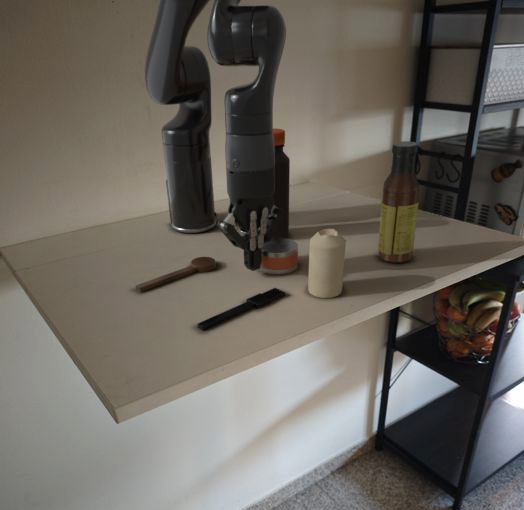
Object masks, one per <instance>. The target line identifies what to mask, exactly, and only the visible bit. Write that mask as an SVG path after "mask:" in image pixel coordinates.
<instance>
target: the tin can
mask: <svg viewBox="0 0 524 510" xmlns="http://www.w3.org/2000/svg"><path fill="white" fill-rule="evenodd" d="M298 260H299V244H298V242H296V241H295V240H293V239H290V238H287V237H286V238H272V239H271V241H270V242H266V243H264V245H263V247H262V263H261V265H260V269H258V270H259V271H260V272H262V273H265V274H268V275H276V276H277V275H287V274H290V273H292V272H295V271H296V270H297V269H298V263H299V262H298Z"/></svg>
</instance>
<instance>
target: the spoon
mask: <svg viewBox="0 0 524 510" xmlns="http://www.w3.org/2000/svg"><path fill="white" fill-rule="evenodd" d="M216 268H217V264H216V259H215V258H213V257H210V256H198V257H196V258H193V259H192V260H191V261H190V265H189V266H186V267H184V268H183V267H182V268H181V269H178V270H175V271H172V272H169V273H166V274H164V275H161V276H158V277H155V278H152V279H150V280H146V281H145V282H141V283H138V284H136V285H135V290H136V291H137V292H140V293H144V292H145V291H148V290H151V289H154V288H157V287H160V286H162V285H165V284H167V283H170V282H172V281H175V280H178V279H181V278H184V277H186V276H189V275H191V274H194V273H197V272H198V273H207V272H211V271H213V270H215V269H216Z"/></svg>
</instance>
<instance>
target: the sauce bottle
mask: <svg viewBox="0 0 524 510" xmlns="http://www.w3.org/2000/svg"><path fill="white" fill-rule="evenodd" d="M391 148H392V149H391V153H392V159H391V168H390V173H389V175H388V176H387V178H386V179H385V180H384V182H383V187H382V197H381V199H382V200H381V207H380V221H379V232H378V233H379V234H378V244H377V249H378V257H379V258H380V259H381V261H385V262H388V263H392V264H394V263H395V264H401V263H405V262H408V261H410V260H411V258H412V257H413V250H414V246H415V238H416V228H417V218H418V211H419V202H420V201H419V200H420V199H419V198H420V197H419V194H420V183H419V181H418V177H417V175H416V157H417V153H418V152H419V143H418V142H416V141H407V140H405V141H404V140H403V141H397V142H394V143H392V147H391Z"/></svg>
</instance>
